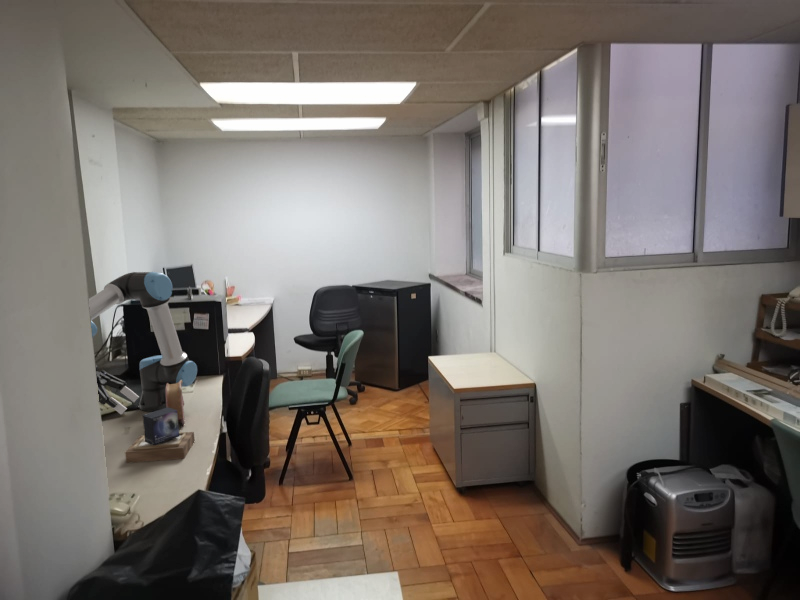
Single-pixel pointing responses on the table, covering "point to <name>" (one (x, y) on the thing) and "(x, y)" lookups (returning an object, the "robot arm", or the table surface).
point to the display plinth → (160, 449)
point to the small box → (161, 426)
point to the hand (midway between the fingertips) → (130, 405)
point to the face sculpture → (175, 399)
